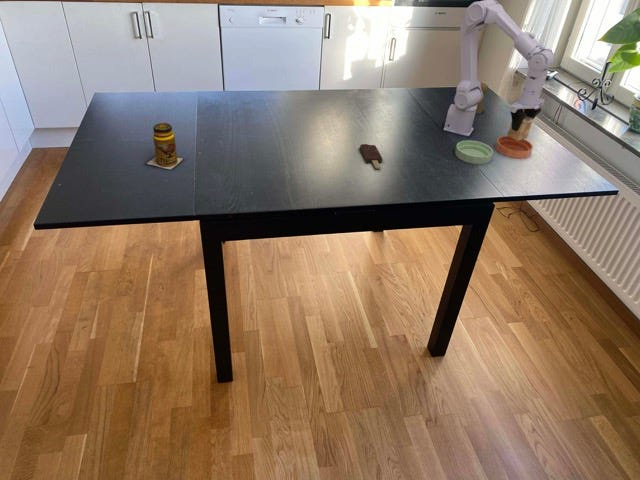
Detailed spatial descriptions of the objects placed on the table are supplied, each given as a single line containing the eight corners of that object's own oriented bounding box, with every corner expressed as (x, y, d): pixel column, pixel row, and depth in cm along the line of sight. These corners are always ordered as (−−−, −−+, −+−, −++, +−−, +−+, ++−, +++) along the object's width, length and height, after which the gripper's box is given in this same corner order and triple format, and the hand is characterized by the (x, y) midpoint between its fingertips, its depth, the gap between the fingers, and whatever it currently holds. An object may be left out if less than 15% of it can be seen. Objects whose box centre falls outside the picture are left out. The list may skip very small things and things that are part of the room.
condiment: (171, 170, 151) (166, 133, 144) (146, 164, 153) (140, 127, 146) (183, 159, 157) (179, 123, 149) (159, 153, 158) (154, 118, 151)
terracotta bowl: (491, 153, 173) (493, 145, 171) (498, 140, 181) (500, 132, 179) (526, 163, 169) (529, 155, 167) (532, 149, 177) (535, 141, 175)
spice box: (517, 141, 169) (524, 121, 165) (507, 135, 172) (513, 116, 168) (526, 138, 171) (533, 119, 167) (516, 132, 174) (522, 113, 170)
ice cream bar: (386, 170, 159) (373, 148, 171) (386, 165, 158) (374, 143, 170) (369, 170, 158) (358, 148, 170) (370, 166, 157) (359, 144, 169)
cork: (482, 114, 199) (490, 87, 192) (467, 112, 200) (474, 85, 193) (482, 108, 204) (489, 82, 197) (467, 106, 205) (473, 80, 198)
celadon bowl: (450, 158, 168) (452, 150, 166) (459, 145, 176) (461, 137, 175) (486, 168, 164) (488, 160, 162) (493, 154, 172) (496, 146, 171)
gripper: (527, 97, 156) (514, 137, 164) (557, 90, 162) (543, 129, 170) (509, 89, 160) (497, 129, 168) (539, 82, 167) (526, 121, 175)
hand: (519, 128), depth 170 cm, fingers closed on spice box, 4 cm apart
